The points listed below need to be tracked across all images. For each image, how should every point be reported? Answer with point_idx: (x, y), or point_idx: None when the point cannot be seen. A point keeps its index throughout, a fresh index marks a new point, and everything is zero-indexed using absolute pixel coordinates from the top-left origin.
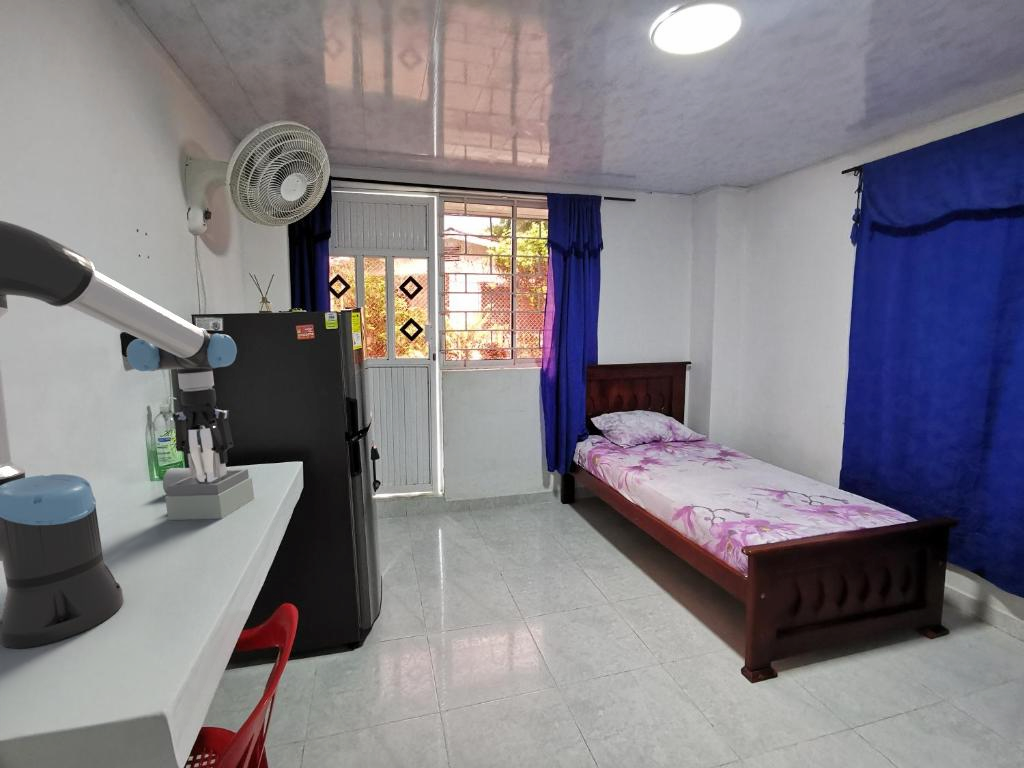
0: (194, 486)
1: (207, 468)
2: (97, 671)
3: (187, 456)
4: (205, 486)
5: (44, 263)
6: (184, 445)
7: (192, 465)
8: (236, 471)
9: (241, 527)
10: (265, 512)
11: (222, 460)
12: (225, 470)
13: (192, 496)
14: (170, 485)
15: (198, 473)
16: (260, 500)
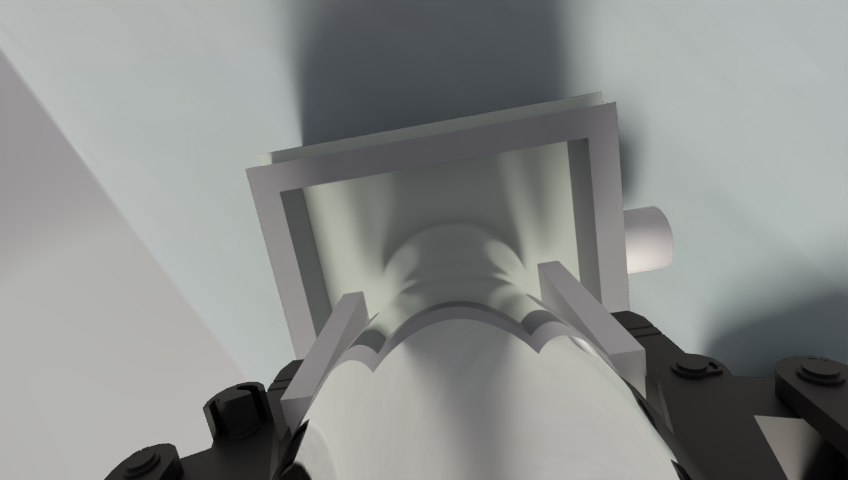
0: (409, 140)
1: (398, 288)
2: None
3: (656, 353)
4: (331, 153)
5: None
6: (752, 419)
7: (566, 306)
8: None
9: (121, 68)
10: (164, 235)
11: (290, 375)
12: None
13: (422, 124)
14: (608, 126)
15: (474, 258)
16: None
